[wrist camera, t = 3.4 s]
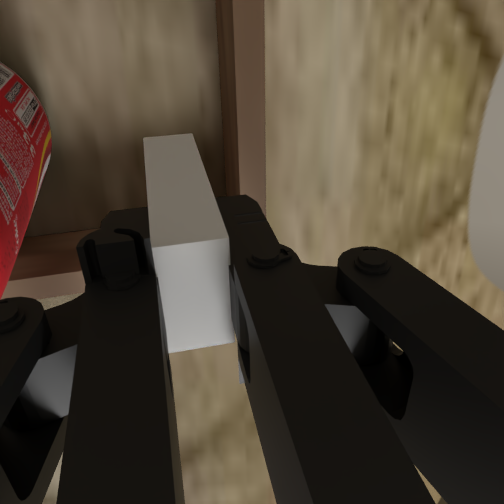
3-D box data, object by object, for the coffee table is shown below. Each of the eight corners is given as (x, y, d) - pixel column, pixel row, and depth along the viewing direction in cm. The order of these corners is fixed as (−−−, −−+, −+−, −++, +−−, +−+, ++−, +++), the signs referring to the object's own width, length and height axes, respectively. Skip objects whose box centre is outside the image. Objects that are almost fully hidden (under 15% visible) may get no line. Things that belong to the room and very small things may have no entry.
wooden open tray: (-155, 281, 23) (-201, 334, 20) (-402, -137, 15) (-554, -167, 11) (249, 228, 27) (266, 265, 24) (238, -132, 18) (263, -152, 15)
